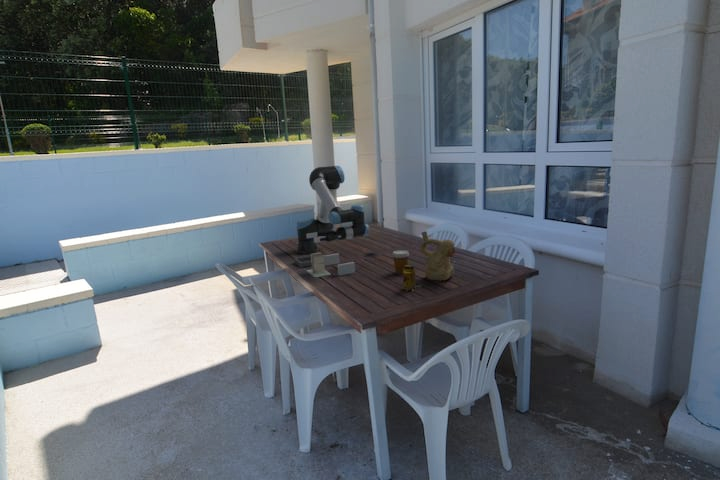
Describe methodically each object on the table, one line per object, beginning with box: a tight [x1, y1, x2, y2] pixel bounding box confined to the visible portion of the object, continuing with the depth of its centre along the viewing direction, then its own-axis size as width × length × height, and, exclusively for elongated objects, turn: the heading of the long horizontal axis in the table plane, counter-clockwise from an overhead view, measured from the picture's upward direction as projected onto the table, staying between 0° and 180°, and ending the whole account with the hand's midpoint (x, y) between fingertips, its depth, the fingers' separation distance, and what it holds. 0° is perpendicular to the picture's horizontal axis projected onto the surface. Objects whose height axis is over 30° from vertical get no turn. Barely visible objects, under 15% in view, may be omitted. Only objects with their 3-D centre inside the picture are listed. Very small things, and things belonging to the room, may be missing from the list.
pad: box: [305, 268, 332, 278], centre depth 252 cm, size 16×10×1 cm, turn 25°
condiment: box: [402, 264, 422, 292], centre depth 216 cm, size 7×8×12 cm
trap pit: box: [294, 255, 312, 269], centre depth 272 cm, size 14×14×3 cm
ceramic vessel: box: [420, 230, 457, 282], centre depth 228 cm, size 17×20×25 cm
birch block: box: [310, 251, 326, 274], centre depth 251 cm, size 6×6×11 cm
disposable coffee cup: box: [392, 249, 410, 275], centre depth 242 cm, size 10×10×12 cm
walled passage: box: [324, 252, 356, 276], centre depth 257 cm, size 26×10×6 cm, turn 25°
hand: (310, 238), depth 246 cm, fingers open, 13 cm apart
